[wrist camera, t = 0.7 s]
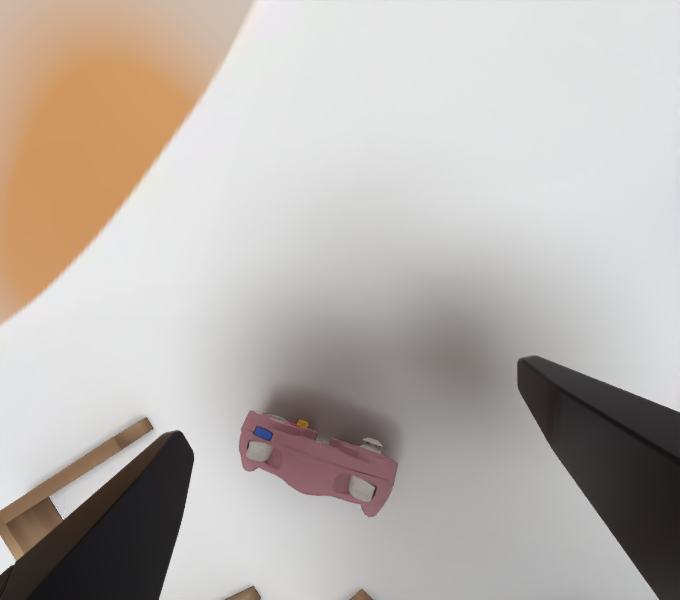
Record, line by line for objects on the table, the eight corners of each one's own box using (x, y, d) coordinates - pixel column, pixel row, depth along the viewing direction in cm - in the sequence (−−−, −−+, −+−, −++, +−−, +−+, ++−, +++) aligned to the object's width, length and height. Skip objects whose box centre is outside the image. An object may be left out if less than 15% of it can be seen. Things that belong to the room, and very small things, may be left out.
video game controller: (394, 444, 24) (412, 453, 17) (377, 515, 22) (390, 554, 16) (267, 400, 25) (239, 393, 18) (243, 464, 24) (203, 481, 17)
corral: (260, 597, 25) (242, 641, 22) (136, 655, 27) (105, 702, 24) (146, 417, 25) (113, 437, 22) (33, 491, 27) (-11, 517, 24)
